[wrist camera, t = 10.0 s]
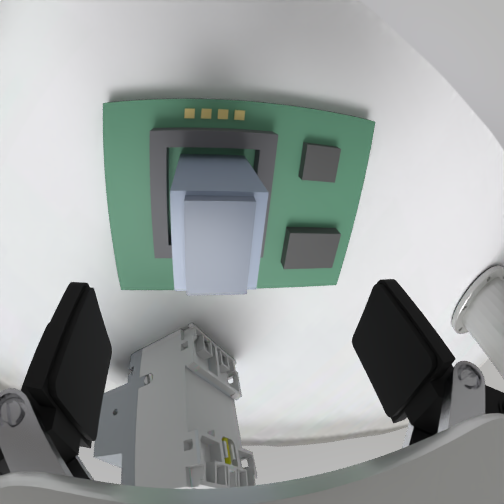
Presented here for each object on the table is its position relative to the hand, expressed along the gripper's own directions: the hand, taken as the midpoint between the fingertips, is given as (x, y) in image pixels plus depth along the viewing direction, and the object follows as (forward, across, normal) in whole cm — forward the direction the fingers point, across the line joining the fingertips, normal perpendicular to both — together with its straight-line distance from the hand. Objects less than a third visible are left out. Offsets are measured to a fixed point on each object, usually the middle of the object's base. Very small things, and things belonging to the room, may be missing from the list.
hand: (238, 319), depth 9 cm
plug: (+12, +1, 0) cm, 12 cm away
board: (+13, -1, +1) cm, 13 cm away
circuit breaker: (+13, +6, +20) cm, 24 cm away
